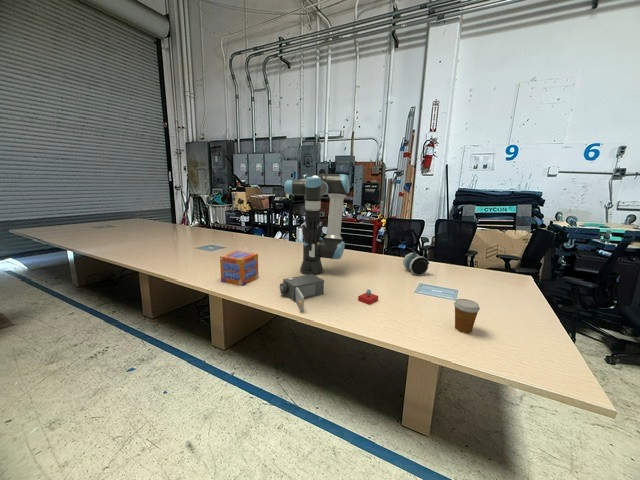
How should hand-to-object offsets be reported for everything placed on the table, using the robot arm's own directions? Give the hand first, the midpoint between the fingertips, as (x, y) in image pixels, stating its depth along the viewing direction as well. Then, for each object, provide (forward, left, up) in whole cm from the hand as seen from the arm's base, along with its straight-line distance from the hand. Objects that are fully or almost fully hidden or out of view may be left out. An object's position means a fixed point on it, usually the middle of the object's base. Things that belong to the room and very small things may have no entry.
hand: (311, 256), depth 141 cm
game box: (+23, -43, -22) cm, 54 cm away
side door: (+11, +6, -22) cm, 25 cm away
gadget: (-84, 0, -22) cm, 87 cm away
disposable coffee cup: (-38, +60, -22) cm, 74 cm away
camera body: (+2, -6, -22) cm, 23 cm away
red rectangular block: (-24, +18, -23) cm, 37 cm away
